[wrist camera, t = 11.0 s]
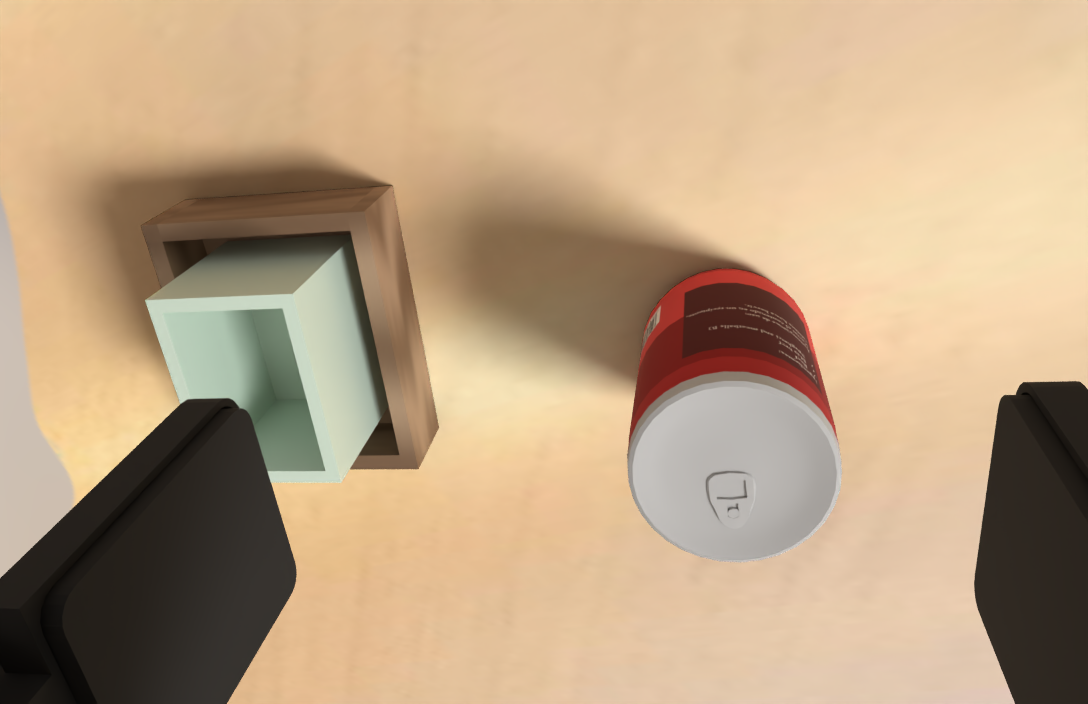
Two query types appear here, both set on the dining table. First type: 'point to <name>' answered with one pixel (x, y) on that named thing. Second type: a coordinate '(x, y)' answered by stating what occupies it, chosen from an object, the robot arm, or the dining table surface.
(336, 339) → the small crate
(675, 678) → the dining table surface
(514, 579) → the dining table surface
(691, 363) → the canned food
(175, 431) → the robot arm
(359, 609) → the dining table surface
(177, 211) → the large crate
